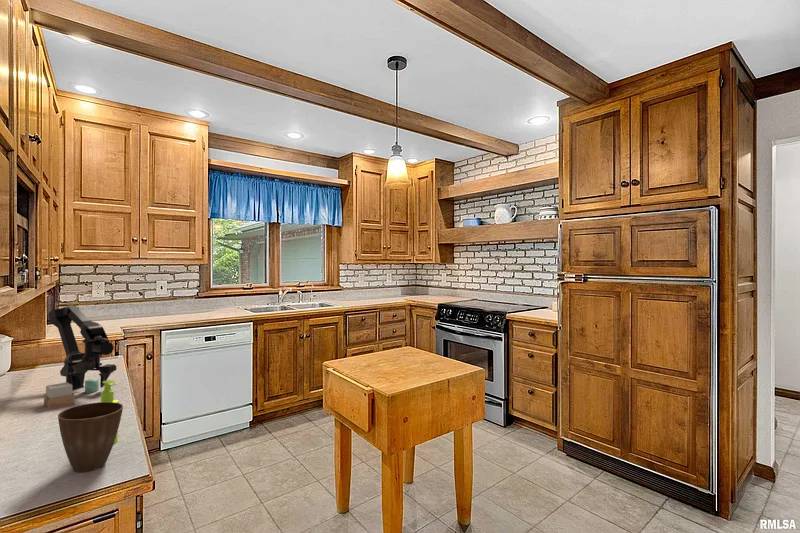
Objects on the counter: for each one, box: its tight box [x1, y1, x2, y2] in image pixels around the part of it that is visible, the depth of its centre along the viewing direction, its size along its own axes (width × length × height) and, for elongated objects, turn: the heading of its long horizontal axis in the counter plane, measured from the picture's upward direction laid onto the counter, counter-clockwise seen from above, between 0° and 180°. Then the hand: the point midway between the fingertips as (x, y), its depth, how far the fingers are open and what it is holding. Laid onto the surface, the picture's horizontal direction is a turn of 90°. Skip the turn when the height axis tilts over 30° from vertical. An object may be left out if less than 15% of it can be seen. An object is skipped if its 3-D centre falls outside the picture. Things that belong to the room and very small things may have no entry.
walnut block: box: [43, 393, 76, 410], centre depth 170 cm, size 8×8×4 cm
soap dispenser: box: [99, 379, 119, 444], centre depth 134 cm, size 6×7×20 cm
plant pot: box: [57, 401, 124, 473], centre depth 118 cm, size 15×15×16 cm
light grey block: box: [45, 381, 73, 399], centre depth 170 cm, size 7×7×4 cm
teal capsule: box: [84, 378, 100, 394], centre depth 189 cm, size 5×5×5 cm
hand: (91, 387), depth 189 cm, fingers open, 9 cm apart
